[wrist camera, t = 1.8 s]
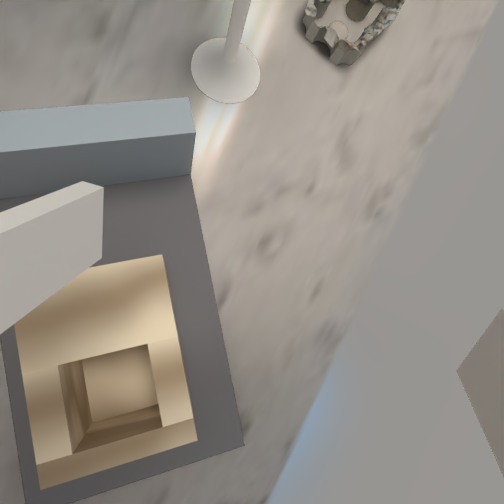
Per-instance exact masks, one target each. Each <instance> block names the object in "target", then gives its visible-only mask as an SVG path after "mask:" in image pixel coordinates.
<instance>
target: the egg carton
mask: <svg viewBox="0 0 504 504" xmlns="http://www.w3.org/2000/svg"><path fill="white" fill-rule="evenodd" d="M378 1H381V2H382V3H383V4H384V5H385V6H386V8H383V9H382V10H381V12H380V13H379V15H378V16H377V18H376V19H375V21H374V22H373V23H372V25H371V26H368V27H367V28H365V29H364V32H363V33H362V35H361V36H360V38H359V39H358V41H356V42H355V43H351V42H348V41H347V40H345V39H346V38H347V37H348V29H347V27H346V25H345V24H344V23H342V22H340V21H334V22H332V23H330V25H329V27H328V26H327V27H326V26H324V27H323V26H321V27H319V26H317V24H316V23H315V21H314V20H315V19H319V18H321V17H322V16H323V15H324V13H325V11H326V9H327V7H328V6H329V4H330V2H331V0H308V3H307V6H306V9H305V12H306V14H305V16H304V18H303V21H302V22H303V23H304V25H305V27H306V34H305V37H306V38H307V39H308V40H309V41H310V42H311V43H313V42H315V41H321V42H324V43H325V44H327V45H328V47H329V48H330V51H331V55H330V58H329V59H330V61H331V62H332V63H333V64H334V65H338V64H340V63H345V64H348V65H351V64H352V63H353V62H354V61H355V60H356V59H357V58H359V57H360V54H361V53H362V52H363V50H364V48H365V45H367V46H368V45H369V44H370V42H371V41H372V40H373V39H374V38H375V37H376V36H378V35H379V34H380V33H381V32H382V31H383V29H385V28H386V27H388V26H389V25H390V24H391V23H392V22H393V21H394V19H395V17H396V16H397V14H398V12H399V10H400V9H401V7H402V5H403V3H404V2H405V0H350V1H349V2H348V4H347V6H346V13H347V15H348V17H349V18H350V19H351V20H353V21H362V20H363V19H364V18H365V16H366V15H367V13H368V12H369V10H370V9H371V8H372V6H373V5H374V3H376V2H378Z"/></svg>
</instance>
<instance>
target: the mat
mask: <svg viewBox="0 0 504 504" xmlns="http://www.w3.org/2000/svg"><path fill="white" fill-rule="evenodd" d="M101 187H104V197H103V234H102V258H101V259H100V260H98V261H97V262H96V263H94V264H93V265H92V266H90V267H95V266H101V265H106V264H112V263H117V262H123V261H128V260H134V259H139V258H145V257H150V256H156V255H161V254H162V256H163V259H164V262H165V267H166V272H167V277H168V282H169V287H170V293H171V298H172V303H173V308H174V314H175V319H176V324H177V329H178V335H179V340H180V345H181V350H182V355H183V361H184V366H185V371H186V376H187V382H188V387H189V392H190V397H191V402H192V408H193V414H194V420H195V427H196V433H197V440H198V441H194V442H191V443H188V444H185V445H182V446H179V447H175V448H172V449H169V450H166V451H163V452H160V453H156V454H153V455H150V456H147V457H144V458H141V459H137V460H134V461H131V462H128V463H125V464H122V465H118V466H115V467H112V468H109V469H106V470H103V471H99V472H96V473H93V474H90V475H87V476H84V477H80V478H77V479H74V480H71V481H68V482H65V483H61V484H58V485H55V486H52V487H49V488H46V489H43V490H40V485H39V479H38V472H37V466H36V460H35V453H34V447H33V441H32V434H31V428H30V422H29V415H28V409H27V403H26V396H25V390H24V384H23V377H22V371H21V365H20V358H19V352H18V346H17V339H16V333H15V327H14V324H13V325H12V326H11V327H9V328H8V329H7V330H5V331H4V332H3V333H1V334H0V340H1V347H2V353H3V360H4V366H5V373H6V379H7V386H8V392H9V398H10V405H11V411H12V418H13V424H14V431H15V437H16V444H17V450H18V457H19V463H20V470H21V476H22V482H23V489H24V495H25V502H26V504H69V503H72V502H75V501H78V500H81V499H84V498H87V497H90V496H93V495H96V494H99V493H103V492H106V491H109V490H112V489H115V488H118V487H121V486H124V485H127V484H130V483H133V482H136V481H139V480H142V479H145V478H148V477H151V476H154V475H157V474H160V473H163V472H166V471H169V470H172V469H175V468H178V467H181V466H184V465H187V464H190V463H193V462H196V461H199V460H202V459H205V458H208V457H211V456H214V455H218V454H221V453H224V452H227V451H230V450H233V449H236V448H239V447H242V446H245V444H244V439H243V434H242V429H241V424H240V420H239V415H238V410H237V405H236V400H235V395H234V390H233V385H232V380H231V375H230V370H229V365H228V360H227V355H226V350H225V345H224V340H223V335H222V330H221V325H220V320H219V315H218V310H217V305H216V300H215V295H214V290H213V285H212V280H211V275H210V270H209V265H208V260H207V255H206V250H205V245H204V240H203V235H202V230H201V225H200V220H199V215H198V210H197V205H196V200H195V195H194V190H193V185H192V180H191V175H190V174H189V175H181V176H174V177H166V178H158V179H151V180H143V181H135V182H128V183H120V184H112V185H105V186H101ZM51 193H53V192H51ZM47 194H50V193H43V194H35V195H28V196H20V197H12V198H5V199H0V212H3V211H6V210H8V209H11V208H13V207H16V206H19V205H21V204H24V203H26V202H29V201H32V200H34V199H37V198H40V197H42V196H45V195H47ZM90 267H89V268H90Z"/></svg>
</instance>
